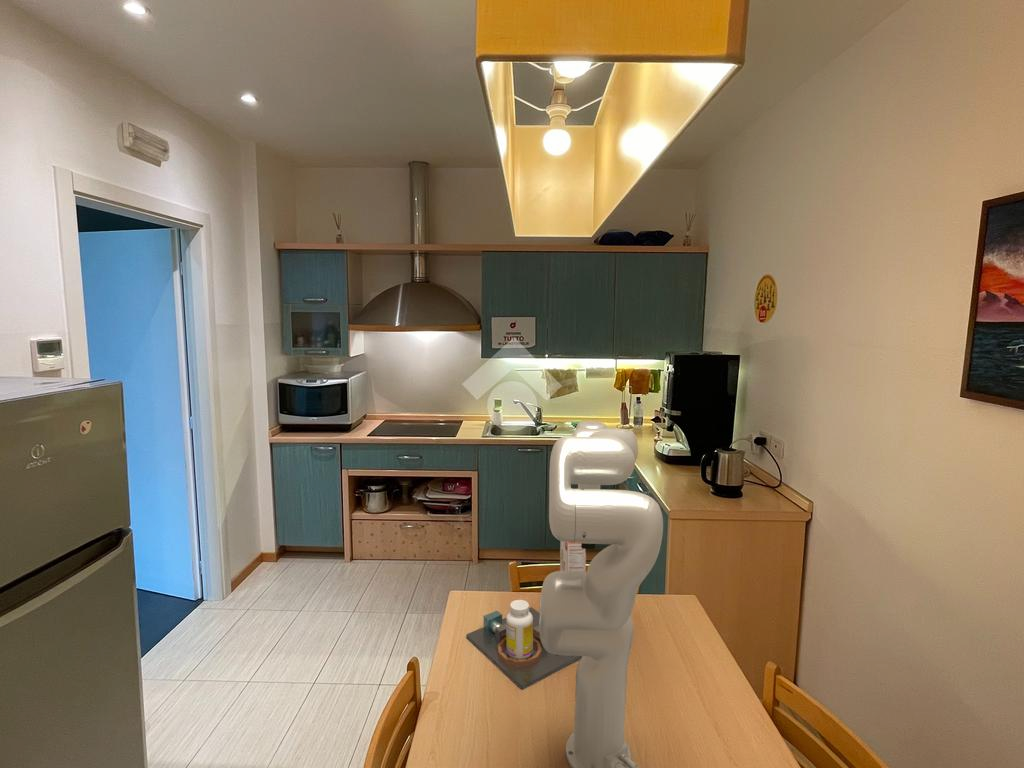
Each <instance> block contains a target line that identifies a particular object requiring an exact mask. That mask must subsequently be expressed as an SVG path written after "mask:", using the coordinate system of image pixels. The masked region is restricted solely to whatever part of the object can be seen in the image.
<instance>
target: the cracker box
mask: <svg viewBox="0 0 1024 768" xmlns="http://www.w3.org/2000/svg"><path fill="white" fill-rule="evenodd" d="M559 541H560V540H559ZM559 545H560V548H559V553H560V554H559V557H560V560H559V565H560V566H559V571H587V569H586V566H587V563H586V562H587V549H582V548H581V543H567V542H562V541H560V543H559Z"/></svg>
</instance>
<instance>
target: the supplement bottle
mask: <svg viewBox="0 0 1024 768" xmlns="http://www.w3.org/2000/svg"><path fill="white" fill-rule="evenodd" d="M509 605H510V606H509V610H510V611H509V612H508V613H507V615H506V617H507V618H506V617H505V618H506V648H507V653H508V655H509V656H510V657H511V658H513V659H518V660H520V659H526V658H528V657H530V656H531V654H532V652H533V616H532V614H531V613H530V612H529V608H530V603H529V602H528V601H526V600H523V599H516V600H515V599H514V600H513V601H511V602H510V603H509Z"/></svg>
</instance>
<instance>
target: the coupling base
mask: <svg viewBox="0 0 1024 768" xmlns="http://www.w3.org/2000/svg"><path fill="white" fill-rule="evenodd" d="M529 612H530V613H531V614H532V616H533V652H532V654H531V656H530V657H528V658H526V659H520V660H518V659H513V658H511V657H510V656H509V655H508V653H507V648H506V618H507V616H506V617H504V618H503V614H502V613H501V612H499V611H498V610H495V611H493V612H490V613H488V614H485V615H483V626H482V627H480V628H478V629H476V630H474V631H473V630H472V631H471V632H468V633H466V635H465V637H466V639H467V640H468V641H469V642H470V643H471V644H472V645H473V646H474V647H476V648H477V650H479V651H480V652H481V653H482V654H483V655H484V656H485V657H486V658H487V659H488V660H489V661H490V662H491V663H492V664H494V665H495V666H496V667H497V668H498V669H499V670H500V671H501V672H502V673H503V674H504V675H505V676H506V677H507V678H508V679H510V681H512V682H513V684H515V685H516V686H517V687H518V688H519V690H521V691H523V690H525V689H527V688H529V687H530V686H532V685H534V684H536V683H538V682H541V680H543V679H545V678H547V677H549V676H551V675H553V674H555V673H556V672H558V671H560V670H562V669H564V668H566V667H567V666H571V665H572V664H573V663H576V662H578V661H580V660H581V658H582V657H583V656H571V655H555V654H551V653H549V652H547V651H546V650H545V649H544V647H543V645H542V643H541V639H540V633H539V619H540V611H538V610H536V609H535V608H533V607H532V606H529Z"/></svg>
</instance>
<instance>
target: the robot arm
mask: <svg viewBox="0 0 1024 768" xmlns="http://www.w3.org/2000/svg"><path fill="white" fill-rule="evenodd" d="M638 454H639V445H638V438H637V436H636V434H635V433H634V432H633V430H630V429H627V428H611V427H610V428H609V427H607V425H606V424H605V423H604V422H601V421H597V420H583V421H579V422H578V423H577V424H576V426H575V430H574V431H573V433H572V434H571V435H565V436H562V437H559V438H558V439H557V440H556V442H555V443H554V444H553V446H552V449H551V452H550V459H549V480H548V481H549V482H548V483H549V484H548V485H549V489H548V494H549V496H548V497H549V499H548V500H549V501H548V518H549V519H548V522H549V529H550V531H551V533H552V535H553V537H554V538H555V539H556V540H557V541H562V542H567V543H581V548H582V549H586V550H595V549H596V545H608V546H606V547H605V548H603V549H602V550H601V551H599V552H598V553H597V554H596V555H595V556H594V557H593V558H592V560H591V561H590V562H589V565H588V567H587V569H586V571H560V570H556V571H553V572H551V573H549V574H548V575H546V577H545V578H544V580H543V583H542V587H541V591H540V600H539V601H540V603H539V604H540V605H539V613H540V619H539V633H540V639H541V643H542V645H543V647H544V649H545V650H546V651H547V652H549V653H551V654H555V655H571V656H583V657H582V658H581V659H579V662H578V663H577V666H576V671H575V695H574V697H575V699H574V729H573V732H572V733H571V734H570V735H569V737H568V738H567V741H566V744H565V756H566V760H567V763H568V764H569V766H570V768H638V764H637V763H636V762H635V761H634V760H633V759H632V752H631V749H630V747H629V744H628V742H627V741H626V740H625V722H626V721H625V720H626V719H625V718H626V700H627V699H626V698H627V676H628V674H627V673H628V666H629V665H628V664H629V657H630V653H631V652H630V651H631V648H632V643H633V640H634V639H633V638H634V631H635V629H634V626H635V625H634V620H633V616H632V611H633V608H634V605H635V602H636V598H637V594H638V591H639V589H640V588H639V587H640V585H641V584H642V582H643V581H644V580H645V579H646V577H647V576H648V575H649V573H650V572H651V570H652V569H653V567H654V566H655V563H656V561H657V559H658V557H659V553H660V550H661V546H662V541H663V532H664V518H663V512H662V510H661V507H660V505H659V503H658V502H657V501H656V500H655V499H654V498H653V497H652V496H649V495H648V494H646V493H642V492H639V491H633V490H627V489H601V486H612V485H618V484H622V483H623V482H625V481H626V480H627V479H629V478H630V477H631V476H632V475H633V473H634V471H635V470H634V469H635V465H636V462H637V458H638ZM572 485H577V488H572Z"/></svg>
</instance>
